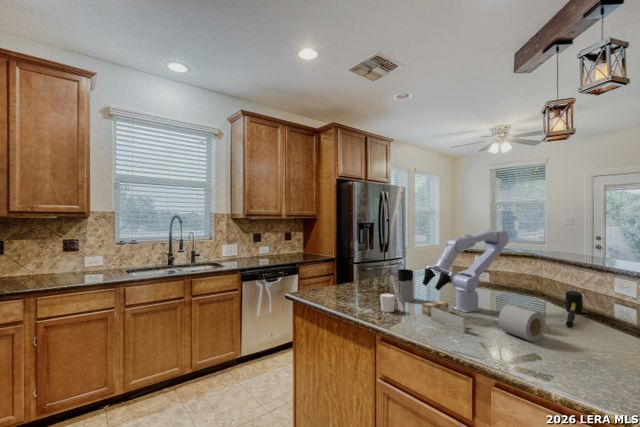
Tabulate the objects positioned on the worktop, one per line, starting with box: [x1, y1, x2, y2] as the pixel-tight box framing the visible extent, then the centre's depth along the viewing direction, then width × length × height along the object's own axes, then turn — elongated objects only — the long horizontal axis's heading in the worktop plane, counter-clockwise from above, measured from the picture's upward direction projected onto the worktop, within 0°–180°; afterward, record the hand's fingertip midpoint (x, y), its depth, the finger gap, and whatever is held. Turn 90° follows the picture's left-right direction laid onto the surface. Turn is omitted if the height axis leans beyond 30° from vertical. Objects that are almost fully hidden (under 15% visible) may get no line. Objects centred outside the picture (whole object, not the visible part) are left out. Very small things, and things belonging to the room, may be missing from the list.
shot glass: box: [379, 292, 396, 313], centre depth 141 cm, size 7×7×7 cm
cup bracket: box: [430, 307, 467, 334], centre depth 123 cm, size 16×5×5 cm, turn 25°
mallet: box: [564, 290, 584, 329], centre depth 130 cm, size 29×6×10 cm, turn 138°
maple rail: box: [421, 300, 449, 317], centre depth 138 cm, size 12×4×4 cm, turn 114°
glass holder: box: [385, 268, 415, 303], centre depth 159 cm, size 9×14×15 cm, turn 89°
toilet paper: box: [498, 304, 546, 343], centre depth 111 cm, size 10×10×10 cm
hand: (430, 286), depth 136 cm, fingers open, 7 cm apart
